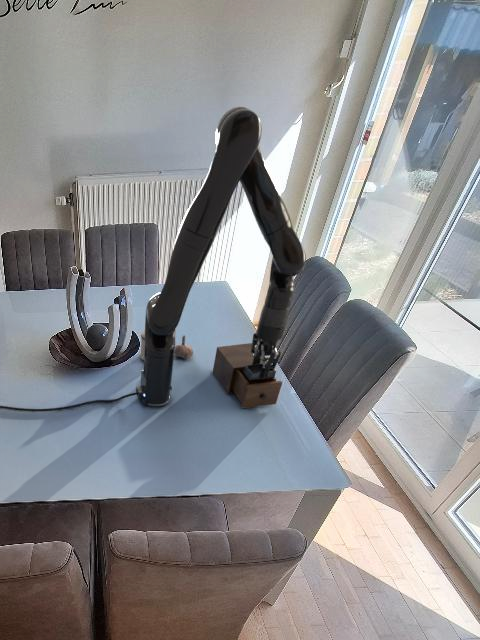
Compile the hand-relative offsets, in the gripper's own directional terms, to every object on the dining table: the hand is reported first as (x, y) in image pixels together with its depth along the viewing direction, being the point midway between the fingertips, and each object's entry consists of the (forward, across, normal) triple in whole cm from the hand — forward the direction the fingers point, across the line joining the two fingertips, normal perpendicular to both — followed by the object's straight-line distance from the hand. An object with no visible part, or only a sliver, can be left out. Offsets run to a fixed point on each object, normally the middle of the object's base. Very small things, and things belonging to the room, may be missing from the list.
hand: (258, 373), depth 144 cm
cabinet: (+10, -12, 0) cm, 16 cm away
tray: (+1, 0, 0) cm, 1 cm away
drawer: (+9, -1, 0) cm, 9 cm away
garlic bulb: (+10, -34, -13) cm, 37 cm away
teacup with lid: (+10, -36, -23) cm, 43 cm away
